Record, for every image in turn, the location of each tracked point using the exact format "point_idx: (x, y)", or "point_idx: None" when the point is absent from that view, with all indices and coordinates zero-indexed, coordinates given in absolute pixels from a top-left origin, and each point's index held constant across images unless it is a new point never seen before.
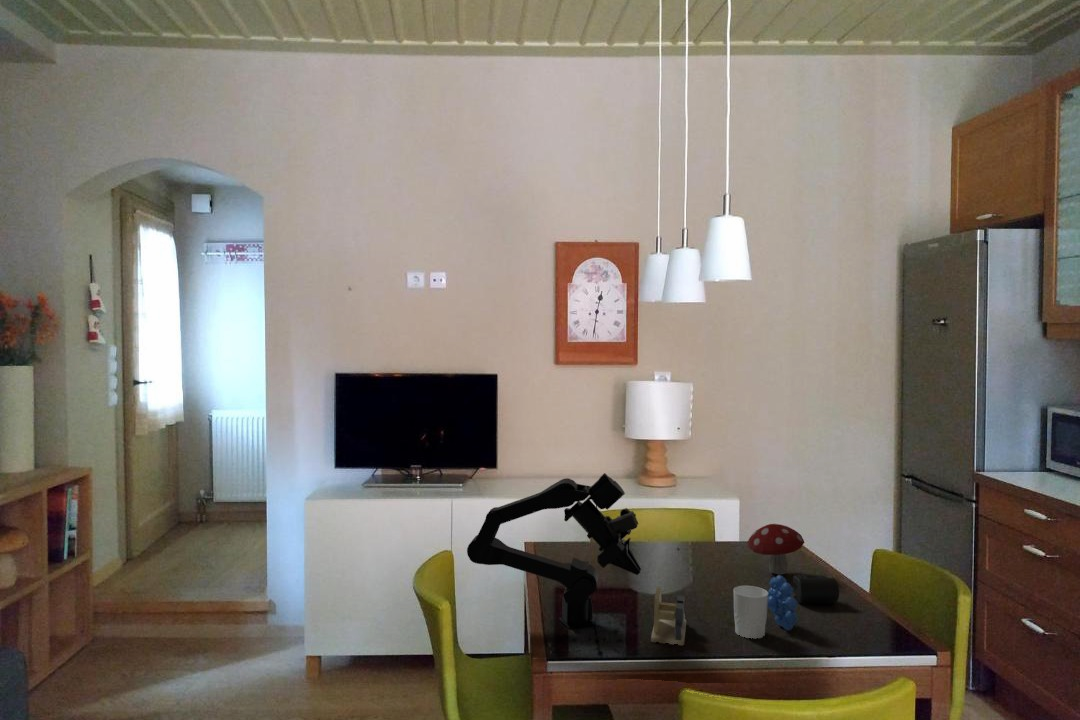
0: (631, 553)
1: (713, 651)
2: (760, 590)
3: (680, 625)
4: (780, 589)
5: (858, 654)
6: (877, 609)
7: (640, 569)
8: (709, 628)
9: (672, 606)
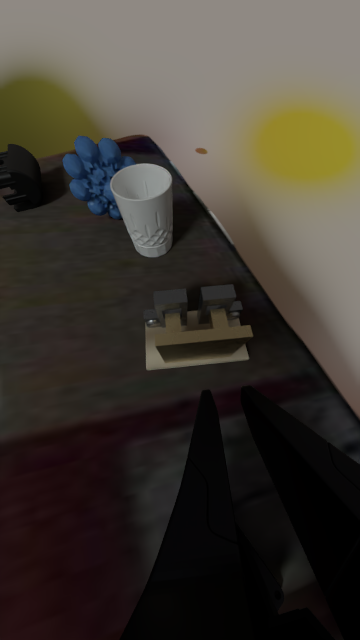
0: (223, 494)
1: (232, 274)
2: (121, 176)
3: (234, 302)
4: (113, 156)
5: (173, 169)
6: (51, 158)
7: (209, 391)
8: (153, 286)
9: (179, 319)
